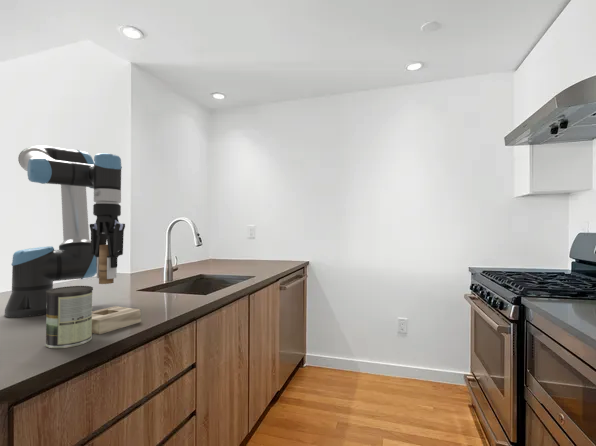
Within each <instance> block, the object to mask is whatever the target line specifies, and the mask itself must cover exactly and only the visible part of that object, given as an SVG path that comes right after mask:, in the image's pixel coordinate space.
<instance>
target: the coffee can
mask: <svg viewBox="0 0 596 446" xmlns="http://www.w3.org/2000/svg"><path fill="white" fill-rule="evenodd" d="M93 291H94V287H93V286H92V285H91V286H90V285H70V286H60V287H55V288H54V287H53V289H50V290H47V291H46V294H47V308H46V314H45V316H46V319H45V323H46V325H45V347H46V348H48V349H57V350H58V349H66V348H73V347H77V346H81V345H84V344H87V343H89V342H90V341H91V340H92V339H93V336H92V334H93V333H92V311H93Z"/></svg>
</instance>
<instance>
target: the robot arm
mask: <svg viewBox="0 0 596 446" xmlns="http://www.w3.org/2000/svg"><path fill="white" fill-rule="evenodd" d="M18 164H19V166H20V167H21V168H22V169H23V170H24V171H26V173H27V179H28V181H29V182H32V183H37V184H44V185H46V184H49V185H50V184H51V185H60V193H61V194H60V196H61V216H62V217H61V218H62V236H63V237H62V238H63V239H62V240H63V242H61V243H60V244H59V245H58V249H55V248H54V246H53V245H51V246H39V247H33V248H31V247H30V248H24V249H20V250H16V251H15V252H14V253H13V254H12V262H11V266H12V270H11V272H12V273H11V274H12V276H11V294H10V295H9V298H8V301H7V303H6V305H5V308H4V316H5V317H6V318H26V317H36V316H42V315H46V308H47V294H46V291H47V290H50V289H54V282H59V281H71V280H78V279H79V280H83V279H89V278H94V277H95V276H96V279H99V245H108V251H109V256H107V279H113V278H114V279H117V271H118V270H117V268H118V258H119V256H120V257H121V256H123V254H124V236H125V234H124V231H125V228H126V223H121V222H119V218H118V217H120V216H121V215H122V213H121V212H122V206H121V203H122V170H123V169H122V168H123V167H122V159H121V157H120V156H119V155H116V154H112V153H104V152H103V153H102V152H101V153H95V155H94V158H93V157H92V155H91V154H90V153H89V152H87V151H83V150H80V149H79V150H78V149H69V148H62V147H55V146H50V145H34V146H28V147H26V148H24V149H23V150H22V151H20V152H19V154H18ZM87 188H90V189H93V202H94V203H93V205H92V207H93V208H92V210H93V211H92V213H93V216H94V217H96V219H95V222H94V223H90V224H89V215H88V214H89V213H88V212H89V211H88V199H87V197H88V196H87V195H88V194H87ZM89 229H90V230H89Z"/></svg>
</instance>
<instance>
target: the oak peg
mask: <svg viewBox="0 0 596 446" xmlns="http://www.w3.org/2000/svg"><path fill="white" fill-rule="evenodd" d="M107 256H109V251H108V244H106V245H99V278H98V284H99V285H109V284H110V285H111V284H114V279H115V278H113V279H107Z"/></svg>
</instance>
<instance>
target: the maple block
mask: <svg viewBox="0 0 596 446" xmlns="http://www.w3.org/2000/svg"><path fill="white" fill-rule="evenodd" d="M141 311H142V310H141V309H139V308H131V307H124V306H118V305H116V306H115V305H114V306H111V307H107V308H106V307H105V308H101V309H97V310H92V334H95V335H104V334H105V333H109V332H113V331H116V330H119V329H122V328H123V329H124V328H125V327H129V326H132V325H135V324H139V323H141V319H142V318H141V317H142V314H141V313H142V312H141Z"/></svg>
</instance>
